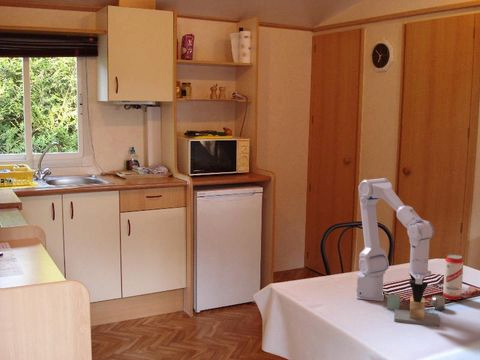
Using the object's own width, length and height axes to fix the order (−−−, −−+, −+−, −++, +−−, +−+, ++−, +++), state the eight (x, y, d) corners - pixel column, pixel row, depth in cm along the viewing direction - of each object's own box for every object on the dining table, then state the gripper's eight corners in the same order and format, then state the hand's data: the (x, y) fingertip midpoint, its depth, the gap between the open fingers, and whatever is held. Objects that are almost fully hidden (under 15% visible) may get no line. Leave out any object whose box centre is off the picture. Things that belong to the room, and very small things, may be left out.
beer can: (462, 302, 197) (465, 259, 194) (444, 300, 198) (446, 258, 195) (459, 295, 203) (462, 254, 200) (441, 294, 204) (444, 253, 201)
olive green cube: (387, 309, 192) (387, 298, 191) (387, 304, 196) (387, 294, 195) (399, 310, 191) (399, 299, 190) (399, 305, 194) (399, 295, 194)
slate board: (394, 321, 182) (394, 318, 181) (394, 311, 189) (394, 309, 189) (438, 326, 178) (439, 323, 178) (437, 316, 185) (437, 313, 185)
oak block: (409, 318, 182) (410, 300, 181) (409, 312, 186) (410, 295, 185) (423, 319, 180) (424, 302, 179) (423, 314, 185) (424, 297, 184)
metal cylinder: (431, 310, 190) (432, 299, 190) (430, 305, 194) (431, 294, 194) (444, 311, 189) (445, 300, 188) (444, 306, 193) (444, 296, 193)
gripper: (433, 266, 172) (430, 307, 174) (431, 252, 185) (428, 290, 188) (409, 264, 174) (407, 304, 176) (409, 250, 187) (407, 288, 190)
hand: (417, 297), depth 182 cm, fingers open, 7 cm apart
